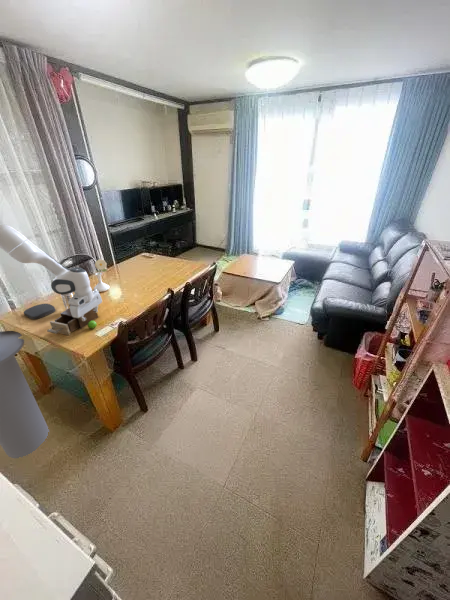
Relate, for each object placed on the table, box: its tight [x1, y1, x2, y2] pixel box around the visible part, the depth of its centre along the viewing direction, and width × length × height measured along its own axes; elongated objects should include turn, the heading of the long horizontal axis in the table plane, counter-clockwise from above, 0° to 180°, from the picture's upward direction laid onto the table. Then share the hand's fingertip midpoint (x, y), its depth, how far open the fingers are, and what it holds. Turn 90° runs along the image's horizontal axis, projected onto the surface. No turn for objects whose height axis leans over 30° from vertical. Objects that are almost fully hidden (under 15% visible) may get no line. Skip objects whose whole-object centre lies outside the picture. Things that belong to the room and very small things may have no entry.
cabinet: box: [60, 308, 99, 330], centre depth 158 cm, size 15×13×9 cm
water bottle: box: [60, 292, 74, 311], centre depth 165 cm, size 7×7×25 cm
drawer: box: [46, 315, 79, 336], centre depth 149 cm, size 18×11×7 cm, turn 164°
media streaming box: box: [23, 303, 56, 320], centre depth 167 cm, size 15×15×3 cm
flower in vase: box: [93, 258, 110, 293], centre depth 194 cm, size 13×11×25 cm
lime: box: [87, 320, 97, 330], centre depth 153 cm, size 5×5×5 cm
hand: (90, 316), depth 150 cm, fingers open, 8 cm apart
